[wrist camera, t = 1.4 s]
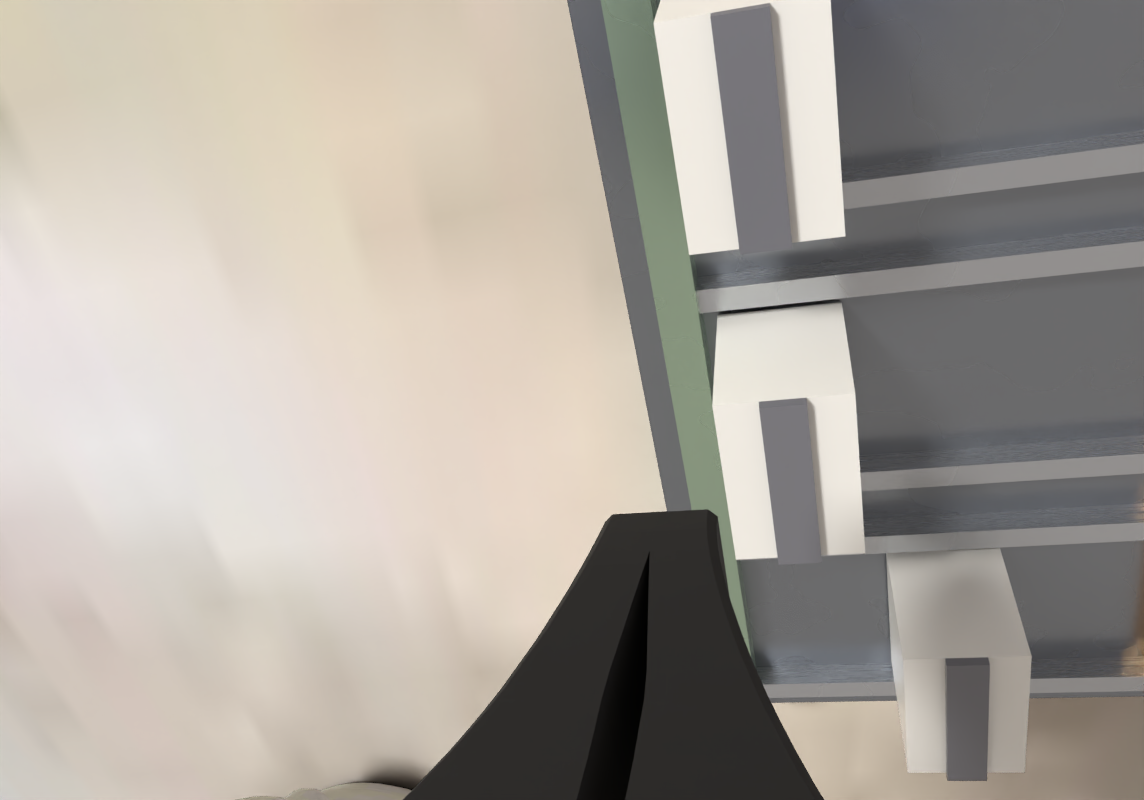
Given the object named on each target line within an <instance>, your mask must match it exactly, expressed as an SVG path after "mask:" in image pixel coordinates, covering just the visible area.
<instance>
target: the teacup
mask: <svg viewBox="0 0 1144 800" xmlns="http://www.w3.org/2000/svg"><path fill="white" fill-rule="evenodd" d="M411 791H412V790H409V789H406V788H401V787H396V786H391V785H385V784H380V783H348V784H342V785H337V786H333V787H330V788H326V789H323V790H321V791H319V790H317V789H299V790H296V791H293V792H292V793H291V794H289V795H288V796H287V797H285V798H281V797H269V796H259V797H249V798H243V799H237V800H403V799H404V798H405V797H406V796H407V795H408V794H409V793H410V792H411Z"/></svg>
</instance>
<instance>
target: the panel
mask: <svg viewBox="0 0 1144 800" xmlns="http://www.w3.org/2000/svg"><path fill="white" fill-rule="evenodd" d="M567 1H568V7H569V12H570V17H571V22H572V27H573V32H574V37H575V42H576V47H577V53H578V58H579V63H580V68H581V73H582V78H583V83H584V88H585V94H586V99H587V104H588V109H589V114H590V119H591V124H592V129H593V134H594V140H595V145H596V150H597V155H598V160H599V165H600V170H601V175H602V181H603V186H604V191H605V196H606V201H607V206H608V211H609V216H610V221H611V227H612V232H613V237H614V242H615V247H616V252H617V257H618V262H619V268H620V273H621V278H622V283H623V288H624V293H625V298H626V303H627V308H628V314H629V319H630V324H631V329H632V334H633V339H634V344H635V349H636V355H637V360H638V365H639V370H640V375H641V380H642V385H643V390H644V395H645V401H646V406H647V411H648V416H649V421H650V426H651V431H652V436H653V441H654V447H655V452H656V457H657V462H658V467H659V472H660V477H661V482H662V488H663V493H664V498H665V503H666V508H667V511H685V510H704V509H708V510H710V511H711V512H712V513H714V514H715V515H717V516H718V522H719V529H720V536H721V542H722V549H723V556H724V563H725V569H726V576H727V583H728V590H729V597H730V600H731V603H732V606H733V609H734V612H735V615H736V618H737V621H738V624H739V627H740V629H741V632H742V635H743V638H744V641H745V643H746V646H747V648H748V651H749V653H750V656H751V658H752V661H753V663H754V665H755V668H756V670H757V672H758V675H759V677H760V679H761V681H762V684H763V686H764V688H765V691H766V693H767V695H768V697H769V699H770V701H771V703H782V702H840V701H897V696H896V689H895V683H894V676H893V669H892V662H891V644H890V623H889V602H888V582H887V561H886V553H900V552H920V551H940V550H960V549H981V548H1000V550H1001V553H1002V557H1003V560H1004V563H1005V567H1006V570H1007V574H1008V577H1009V581H1010V584H1011V587H1012V591H1013V594H1014V598H1015V601H1016V604H1017V608H1018V611H1019V615H1020V618H1021V621H1022V625H1023V628H1024V632H1025V635H1026V638H1027V642H1028V645H1029V649H1030V652H1031V656H1032V659H1031V676H1030V694H1029V698H1072V697H1130V696H1144V0H831V15H832V31H833V47H834V63H835V79H836V95H837V110H838V126H839V142H840V158H841V174H842V190H843V206H844V222H845V237H836V238H828V239H819V240H811V241H803V242H794V243H792V249H783V250H775V251H766V252H758V253H750V254H741V255H740V251H739V249H736V250H727V251H719V252H711V253H702V254H694V255H689V251H688V244H687V238H686V231H685V225H684V218H683V212H682V205H681V199H680V192H679V186H678V179H677V173H676V166H675V160H674V153H673V147H672V140H671V134H670V127H669V121H668V114H667V108H666V101H665V95H664V88H663V82H662V75H661V69H660V62H659V56H658V49H657V43H656V36H655V30H654V20H655V16H656V13H657V10H658V7H659V4H660V0H567ZM837 302H842V308H843V314H844V321H845V328H846V334H847V341H848V348H849V355H850V361H851V368H852V375H853V381H854V388H855V397H856V413H857V429H858V444H859V460H860V476H861V492H862V508H863V524H864V540H865V553H859V554H839V555H821V557H822V563H805V564H784V565H778V558H758V559H738V560H736V556H735V550H734V543H733V537H732V530H731V524H730V517H729V511H728V504H727V498H726V491H725V485H724V478H723V472H722V465H721V459H720V452H719V446H718V439H717V433H716V426H715V420H714V413H713V407H712V402H713V385H714V367H715V350H716V332H717V315H723V314H733V313H742V312H752V311H761V310H771V309H780V308H790V307H799V306H809V305H818V304H828V303H837Z"/></svg>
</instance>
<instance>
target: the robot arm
mask: <svg viewBox="0 0 1144 800" xmlns="http://www.w3.org/2000/svg"><path fill="white" fill-rule="evenodd" d="M403 800H824V799H823V797H822V795H821V794H820V792H819V791H818V789H817V787H816V786H815V784H814V782H813V781H812V779H811V777H810V775H809V774H808V772H807V770H806V768H805V766H804V765H803V763H802V761H801V759H800V758H799V756H798V754H797V752H796V750H795V749H794V747H793V745H792V743H791V741H790V739H789V737H788V735H787V733H786V731H785V729H784V728H783V726H782V724H781V722H780V720H779V718H778V716H777V714H776V712H775V710H774V708H773V706H772V703H771V701H770V699H769V697H768V695H767V693H766V691H765V688H764V686H763V684H762V681H761V679H760V677H759V675H758V672H757V670H756V668H755V665H754V663H753V661H752V658H751V656H750V653H749V651H748V648H747V646H746V643H745V641H744V638H743V635H742V632H741V629H740V627H739V624H738V621H737V618H736V615H735V612H734V609H733V606H732V603H731V600H730V597H729V590H728V583H727V576H726V569H725V563H724V556H723V549H722V542H721V536H720V529H719V522H718V516H717V515H715V514H714V513H712V512H711V511H710V510H708V509H704V510H685V511H667V512H649V513H631V514H613V515H612V516H611V517H610V518H609V519H608V520H607V521H606V522H605V524H604V526H603V528H602V530H601V532H600V534H599V535H598V537H597V539H596V541H595V543H594V545H593V547H592V549H591V551H590V552H589V554H588V556H587V558H586V560H585V561H584V563H583V565H582V567H581V569H580V570H579V572H578V574H577V575H576V577H575V579H574V581H573V582H572V584H571V586H570V587H569V589H568V591H567V592H566V594H565V596H564V597H563V599H562V600H561V602H560V604H559V605H558V607H557V608H556V610H555V611H554V613H553V615H552V616H551V618H550V619H549V621H548V623H547V624H546V626H545V627H544V629H543V630H542V632H541V633H540V635H539V636H538V638H537V639H536V641H535V642H534V644H533V645H532V647H531V648H530V649H529V651H528V652H527V654H526V655H525V656H524V658H523V659H522V661H521V662H520V663H519V665H518V666H517V668H516V669H515V670H514V672H513V673H512V674H511V676H510V677H509V679H508V680H507V681H506V683H505V684H504V686H503V687H502V688H501V690H500V691H499V692H498V693H497V695H496V696H495V697H494V699H493V700H492V701H491V702H490V704H489V705H488V706H487V707H486V709H485V710H484V711H483V712H482V714H481V715H480V716H479V717H478V718H477V720H476V721H475V722H474V723H473V724H472V726H471V727H470V728H469V729H468V730H467V731H466V733H465V734H464V735H463V736H462V737H461V738H460V739H459V741H458V742H457V743H456V744H455V745H454V746H453V747H452V749H451V750H450V751H449V752H448V753H447V754H446V755H445V756H444V757H443V758H442V759H441V760H440V761H439V762H438V764H437V765H436V766H435V767H434V768H433V769H432V770H431V771H430V772H429V773H428V774H427V775H426V776H425V777H424V778H423V779H422V780H421V781H420V783H419V784H418V785H417V786H416V787H415V788H414V789H413V790H412V791H411V792H410V793H409V794H408V795H407V796H406V797H405V798H404V799H403Z"/></svg>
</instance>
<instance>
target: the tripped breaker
mask: <svg viewBox="0 0 1144 800" xmlns="http://www.w3.org/2000/svg"><path fill="white" fill-rule="evenodd" d="M886 561H887V582H888V602H889V623H890V644H891V662H892V669H893V676H894V683H895V689H896V696H897V703H898V710H899V717H900V724H901V731H902V738H903V745H904V752H905V758H906V765H907V772H908V773H946V775H947V781H987V773H1025V764H1026V746H1027V729H1028V711H1029V694H1030V676H1031V659H1032V656H1031V652H1030V649H1029V645H1028V642H1027V638H1026V635H1025V632H1024V628H1023V625H1022V621H1021V618H1020V615H1019V611H1018V608H1017V604H1016V601H1015V598H1014V594H1013V591H1012V587H1011V584H1010V581H1009V577H1008V574H1007V570H1006V567H1005V563H1004V560H1003V557H1002V553H1001V550H1000V548H981V549H960V550H940V551H920V552H900V553H886Z"/></svg>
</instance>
